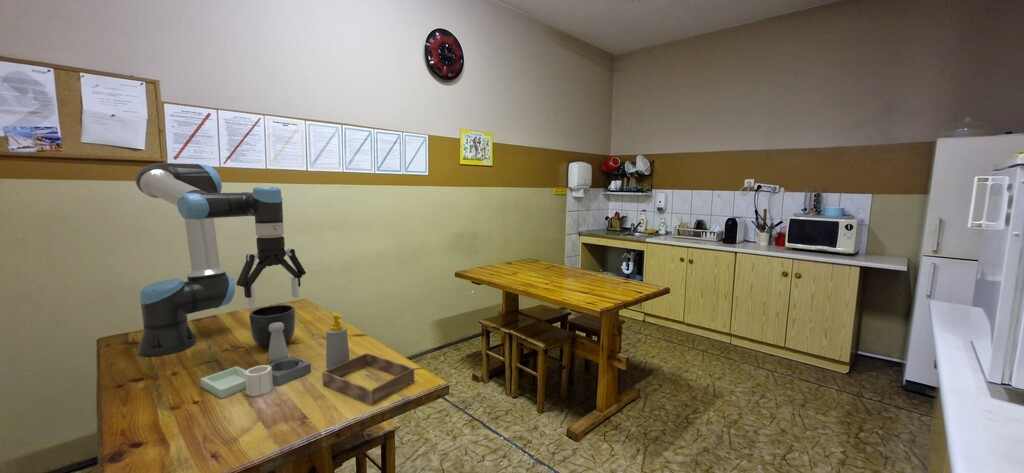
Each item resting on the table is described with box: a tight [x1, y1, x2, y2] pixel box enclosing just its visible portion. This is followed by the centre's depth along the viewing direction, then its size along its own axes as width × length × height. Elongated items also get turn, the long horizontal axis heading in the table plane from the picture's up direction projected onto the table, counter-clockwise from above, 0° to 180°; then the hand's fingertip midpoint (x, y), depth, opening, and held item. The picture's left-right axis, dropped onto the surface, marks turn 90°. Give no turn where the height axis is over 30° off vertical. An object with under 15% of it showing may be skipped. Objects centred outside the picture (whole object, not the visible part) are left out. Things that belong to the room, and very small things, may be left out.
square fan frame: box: [267, 355, 312, 387], centre depth 121 cm, size 10×10×3 cm
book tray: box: [321, 352, 416, 407], centre depth 117 cm, size 21×16×4 cm
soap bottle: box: [325, 312, 351, 370], centre depth 125 cm, size 7×7×18 cm
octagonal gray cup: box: [245, 364, 274, 397], centre depth 112 cm, size 6×6×6 cm
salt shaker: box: [267, 322, 289, 364], centre depth 130 cm, size 6×6×13 cm
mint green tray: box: [199, 365, 248, 400], centre depth 115 cm, size 12×10×2 cm
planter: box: [249, 304, 296, 350], centre depth 143 cm, size 14×14×13 cm
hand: (274, 302), depth 128 cm, fingers open, 13 cm apart
